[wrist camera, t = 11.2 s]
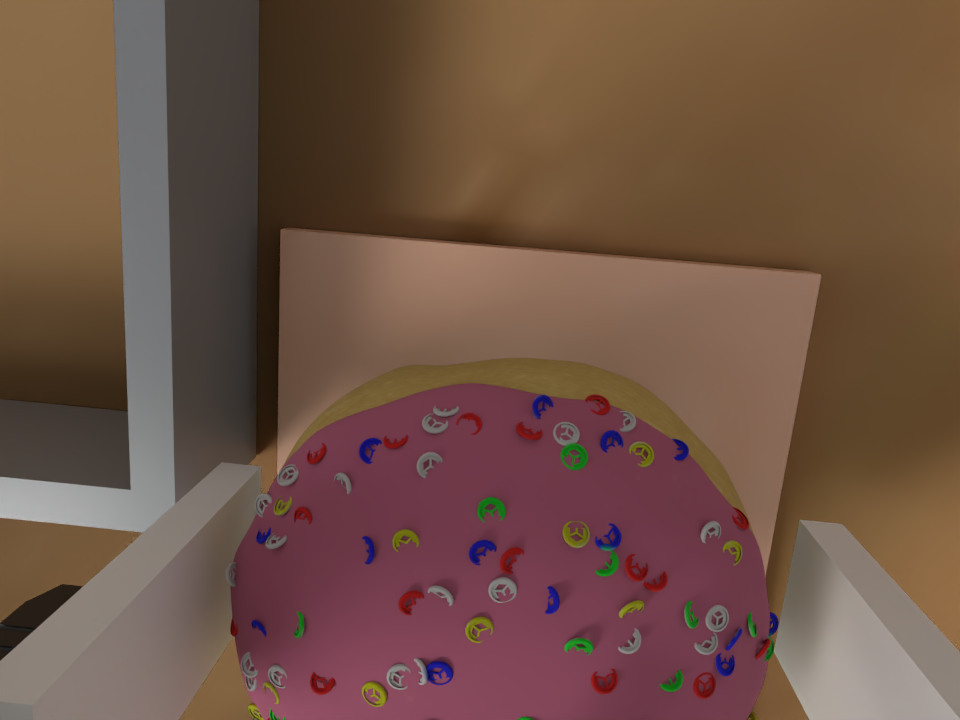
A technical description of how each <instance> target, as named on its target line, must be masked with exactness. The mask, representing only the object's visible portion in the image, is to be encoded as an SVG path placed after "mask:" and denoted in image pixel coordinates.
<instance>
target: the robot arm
mask: <svg viewBox="0 0 960 720" xmlns="http://www.w3.org/2000/svg"><path fill="white" fill-rule="evenodd" d="M260 494H261V466H253V465H243V464H233V463H223V462H221V463H220V464H219V465H218V466H217V467H216V468H215V469H214V470H212V471H211V472H210V473H209V474H208V475H207V476H206V477H205V478H204V479H202V480H201V481H200V482H199V483H198V484H197V485H196V486H195V487H194V488H192V489H191V490H190V491H189V492H188V493H187V494H186V495H185V496H184V497H182V498H181V499H180V500H179V501H178V502H177V503H176V504H175V505H173V506H172V507H171V508H170V509H169V510H168V511H167V512H166V513H165V514H163V515H162V516H161V517H160V518H159V519H158V520H157V521H156V522H155V523H153V524H152V525H151V526H150V527H149V528H148V529H147V530H146V531H144V532H143V533H142V534H141V535H140V536H139V537H138V538H137V539H136V540H134V541H133V542H132V543H131V544H130V545H129V546H128V547H127V548H126V549H124V550H123V551H122V552H121V553H120V554H119V555H118V556H117V557H116V558H114V559H113V560H112V561H111V562H110V563H109V564H108V565H107V566H105V567H104V568H103V569H102V570H101V571H100V572H99V573H98V574H97V575H95V576H94V577H93V578H92V579H91V580H90V581H89V582H88V583H87V584H85V585H84V586H74V585H64V584H62V585H60V586H58V587H56V588H54V589H51V590H49V591H47V592H45V593H43V594H41V595H39V596H37V597H35V598H33V599H31V600H29V601H26V602H25V603H24V604H23V605H21V606H20V607H19V608H18V609H17V610H15V611H14V612H13V613H12V614H11V615H9V616H8V617H7V618H6V619H5V620H3V621H2V622H1V623H0V720H179V719H180V717H181V716H182V714H183V713H184V711H185V710H186V708H187V707H188V705H189V704H190V702H191V701H192V699H193V698H194V696H195V695H196V693H197V692H198V690H199V688H200V687H201V685H202V684H203V682H204V681H205V679H206V678H207V676H208V675H209V673H210V672H211V670H212V669H213V667H214V666H215V664H216V663H217V661H218V660H219V658H220V657H221V655H222V654H223V652H224V650H225V649H226V647H227V646H228V644H229V643H230V641H231V640H232V638H233V637H234V636H232V635H231V632H230V627H231V621H232V607H231V589H230V585H229V584H228V583H227V581H226V578H225V572H226V568H227V566H228V565H229V564H230V563H233V560H234V557H235V554H236V552H237V549H238V547H239V545H240V543H241V541H242V540H243V538H244V536H245V534H246V533H247V531H248V529H249V527H250V525H251V524H252V522H253V520H254V518H255V516H256V514H257V512H256V510H255V500H256V498H257V497H258V496H259V495H260ZM260 506H261V504H260ZM230 577H231V573H230ZM774 653H775V655H776V657H777V659H778V661H779V663H780V665H781V666H782V668H783V670H784V672H785V674H786V676H787V678H788V680H789V682H790V684H791V686H792V688H793V689H794V691H795V693H796V695H797V697H798V699H799V701H800V703H801V705H802V707H803V709H804V711H805V712H806V714H807V716H808V718H809V720H960V652H959V651H958V649H957V648H956V647H955V646H954V645H953V644H952V643H951V642H950V641H949V640H948V639H947V638H946V636H945V635H944V634H943V633H942V632H941V631H940V630H939V629H938V628H937V627H936V626H935V624H934V623H933V622H932V621H931V620H930V619H929V618H928V617H927V616H926V615H925V614H924V612H923V611H922V610H921V609H920V608H919V607H918V606H917V605H916V604H915V603H914V602H913V601H912V599H911V598H910V597H909V596H908V595H907V594H906V593H905V592H904V591H903V590H902V589H901V587H900V586H899V585H898V584H897V583H896V582H895V581H894V580H893V579H892V578H891V577H890V576H889V574H888V573H887V572H886V571H885V570H884V569H883V568H882V567H881V566H880V565H879V564H878V562H877V561H876V560H875V559H874V558H873V557H872V556H871V555H870V554H869V553H868V552H867V550H866V549H865V548H864V547H863V546H862V545H861V544H860V543H859V542H858V541H857V540H856V539H855V537H854V536H853V535H852V534H851V533H850V532H849V531H848V530H847V529H846V528H845V527H844V525H843V524H838V523H828V522H818V521H808V520H799V525H798V530H797V535H796V540H795V545H794V550H793V555H792V561H791V566H790V571H789V576H788V581H787V586H786V592H785V597H784V602H783V607H782V612H781V617H780V622H779V628H778V633H777V638H776V643H775V648H774Z"/></svg>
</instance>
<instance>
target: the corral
mask: <svg viewBox="0 0 960 720" xmlns="http://www.w3.org/2000/svg"><path fill="white" fill-rule="evenodd" d="M113 5H114V33H115V61H116V89H117V117H118V145H119V173H120V201H121V229H122V257H123V285H124V313H125V341H126V369H127V397H128V411H120V410H109V409H99V408H89V407H78V406H68V405H58V404H47V403H37V402H27V401H16V400H6V399H0V518H10V519H19V520H29V521H38V522H48V523H57V524H67V525H77V526H86V527H96V528H105V529H115V530H124V531H134V532H144V531H146V530H147V529H148V528H149V527H150V526H151V525H152V524H153V523H155V522H156V521H157V520H158V519H159V518H160V517H161V516H162V515H163V514H165V513H166V512H167V511H168V510H169V509H170V508H171V507H172V506H173V505H175V504H176V503H177V502H178V501H179V500H180V499H181V498H182V497H184V496H185V495H186V494H187V493H188V492H189V491H190V490H191V489H192V488H194V487H195V486H196V485H197V484H198V483H199V482H200V481H201V480H202V479H204V478H205V477H206V476H207V475H208V474H209V473H210V472H211V471H212V470H214V469H215V468H216V467H217V466H218V465H219V464H220V463H221V462H223V463H233V464H243V465H248V464H249V463H250V462H251V461H252V460H253V459H254V458H255V457H256V398H257V254H258V110H259V0H113Z"/></svg>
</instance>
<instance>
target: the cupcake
mask: <svg viewBox="0 0 960 720" xmlns="http://www.w3.org/2000/svg"><path fill="white" fill-rule="evenodd" d="M261 501H262V504H261ZM260 504H261V506H260ZM255 510H256V512H257V514H256V516H255V518H254V520H253V522H252V524H251V525H250V527H249V529H248V531H247V533H246V534H245V536H244V538H243V540H242V541H241V543H240V545H239V547H238V549H237V552H236V554H235V557H234V560H233V563H230V564H229V565H228V566H227V568H226V572H225V578H226V581H227V583H228V584H229V585H230V589H231V607H232V621H231V627H230V632H231V635H232V636H235V641H236V648H237V654H238V659H239V664H240V668H241V672H242V676H243V679H244V683H245V686H246V688H247V691H248V693H249V696H250V698H251V700H252V702H253V704H250V705H249V706H248V711H249V713H250V714H251V715H252V717H253V720H747V719H748V718H749V717H750V718H751V720H758V718H757V716H756V715H755V714H754V713H752V712H751V711H752V709H753V706H754V704H755V702H756V700H757V698H758V695H759V693H760V691H761V688H762V686H763V683H764V679H765V675H766V670H767V665H768V660H769V659H770V657H771V656H772V654H773V651H774V642H773V640H772V638H770V636H771V635H773V634H774V633H775V632H776V630H777V628H778V624H779V622H778V618H777V616H776V615H775V614H774V613H771V612H770V608H769V602H768V595H767V588H766V579H765V571H764V565H763V560H762V555H761V552H760V548H759V545H758V543H757V540H756V538H755V535H754V532H753V530H752V527H751V524H750V522H749V519H748V516H747V514H746V512H745V509H744V507H743V504H742V502H741V500H740V498H739V496H738V494H737V491H736V489H735V487H734V485H733V483H732V481H731V479H730V477H729V475H728V473H727V471H726V470H725V468H724V467H723V465H722V464H721V462H720V461H719V460H718V459H717V457H716V456H715V455H714V454H713V452H712V451H711V450H710V449H709V448H708V447H707V446H706V445H705V444H704V443H703V442H702V441H701V440H700V439H699V438H698V437H697V436H696V435H695V434H694V433H693V432H692V431H691V429H690V428H689V427H688V426H687V425H686V424H685V423H684V422H683V421H682V420H681V419H680V418H679V416H678V415H677V414H676V413H675V412H674V411H673V410H672V409H670V408H669V407H668V406H667V405H666V404H665V403H664V402H663V401H661V400H660V399H659V398H658V397H656V396H655V395H654V394H653V393H651V392H650V391H649V390H647V389H646V388H645V387H643V386H641V385H640V384H638V383H636V382H634V381H632V380H630V379H628V378H626V377H623V376H621V375H618V374H615V373H612V372H609V371H606V370H603V369H601V368H598V367H594V366H591V365H588V364H584V363H579V362H573V361H563V360H550V359H537V358H501V359H491V360H483V361H476V362H468V363H460V364H452V365H440V366H434V365H408V366H402V367H399V368H396V369H393V370H391V371H389V372H387V373H384V374H382V375H380V376H378V377H376V378H374V379H372V380H370V381H368V382H366V383H364V384H362V385H361V386H359V387H357V388H355V389H354V390H352V391H350V392H349V393H347V394H346V395H344V396H343V397H341V398H340V399H339V400H337V401H336V402H334V403H333V404H332V405H331V406H329V407H328V408H327V409H326V410H325V411H324V412H322V413H321V414H320V415H319V416H318V417H317V418H316V419H315V420H314V421H313V422H312V423H311V424H310V425H309V427H308V428H307V429H306V430H305V431H304V432H303V434H302V435H301V436H300V438H299V439H298V441H297V442H296V444H295V445H294V447H293V449H292V450H291V452H290V454H289V455H288V457H287V459H286V461H285V463H284V465H283V466H282V468H281V470H280V472H279V474H278V475H277V477H276V478H275V480H274V482H273V484H272V485H271V487H270V489H269V491H268V493H267V494H266V493H263V494H260V495H259V496H258V497H257V498H256V500H255ZM230 573H231V577H230ZM771 619H772V621H771ZM772 623H773V627H772V628H771V624H772Z"/></svg>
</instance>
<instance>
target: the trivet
mask: <svg viewBox="0 0 960 720" xmlns="http://www.w3.org/2000/svg"><path fill="white" fill-rule="evenodd" d="M820 281H821V274H817V273H814V272H811V271H800V270H788V269H776V268H764V267H752V266H741V265H729V264H717V263H705V262H693V261H681V260H669V259H657V258H645V257H633V256H621V255H609V254H597V253H585V252H573V251H561V250H550V249H538V248H526V247H514V246H502V245H490V244H478V243H466V242H454V241H442V240H430V239H418V238H406V237H394V236H382V235H371V234H359V233H347V232H335V231H323V230H311V229H299V228H285V229H281V230H280V301H279V372H278V443H277V475H278V474H279V472H280V470H281V468H282V466H283V465H284V463H285V461H286V459H287V457H288V455H289V454H290V452H291V450H292V449H293V447H294V445H295V444H296V442H297V441H298V439H299V438H300V436H301V435H302V434H303V432H304V431H305V430H306V429H307V428H308V427H309V425H310V424H311V423H312V422H313V421H314V420H315V419H316V418H317V417H318V416H319V415H320V414H321V413H322V412H324V411H325V410H326V409H327V408H328V407H329V406H331V405H332V404H333V403H334V402H336V401H337V400H339V399H340V398H341V397H343V396H344V395H346V394H347V393H349V392H350V391H352V390H354V389H355V388H357V387H359V386H361V385H362V384H364V383H366V382H368V381H370V380H372V379H374V378H376V377H378V376H380V375H382V374H384V373H387V372H389V371H391V370H393V369H396V368H399V367H402V366H408V365H434V366H440V365H452V364H460V363H468V362H476V361H483V360H491V359H501V358H537V359H550V360H563V361H573V362H579V363H584V364H588V365H591V366H594V367H598V368H601V369H603V370H606V371H609V372H612V373H615V374H618V375H621V376H623V377H626V378H628V379H630V380H632V381H634V382H636V383H638V384H640V385H641V386H643V387H645V388H646V389H647V390H649V391H650V392H651V393H653V394H654V395H655V396H656V397H658V398H659V399H660V400H661V401H663V402H664V403H665V404H666V405H667V406H668V407H669V408H670V409H672V410H673V411H674V412H675V413H676V414H677V415H678V416H679V418H680V419H681V420H682V421H683V422H684V423H685V424H686V425H687V426H688V427H689V428H690V429H691V431H692V432H693V433H694V434H695V435H696V436H697V437H698V438H699V439H700V440H701V441H702V442H703V443H704V444H705V445H706V446H707V447H708V448H709V449H710V450H711V451H712V452H713V454H714V455H715V456H716V457H717V459H718V460H719V461H720V462H721V464H722V465H723V467H724V468H725V470H726V471H727V473H728V475H729V477H730V479H731V481H732V483H733V485H734V487H735V489H736V491H737V494H738V496H739V498H740V500H741V502H742V504H743V507H744V509H745V512H746V514H747V516H748V519H749V522H750V524H751V527H752V530H753V532H754V535H755V538H756V540H757V543H758V545H759V548H760V552H761V555H762V560H763V565H764V571H765V576H766V571H767V566H768V560H769V555H770V549H771V544H772V539H773V533H774V528H775V523H776V517H777V512H778V506H779V501H780V496H781V490H782V485H783V480H784V474H785V469H786V463H787V458H788V453H789V447H790V442H791V437H792V431H793V426H794V420H795V415H796V410H797V404H798V399H799V394H800V388H801V383H802V377H803V372H804V367H805V361H806V356H807V351H808V345H809V340H810V334H811V329H812V324H813V318H814V313H815V308H816V302H817V297H818V291H819V286H820Z"/></svg>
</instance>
